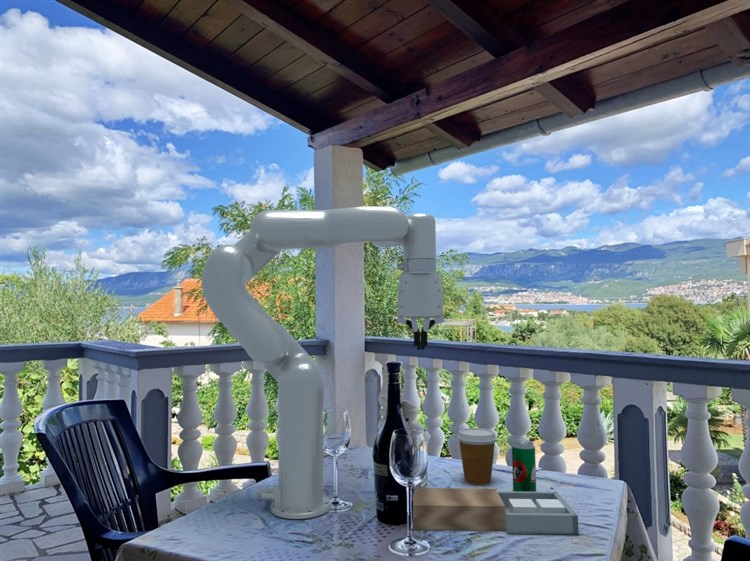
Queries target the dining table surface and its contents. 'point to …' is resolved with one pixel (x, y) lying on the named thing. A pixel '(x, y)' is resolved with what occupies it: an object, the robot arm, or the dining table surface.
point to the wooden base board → (458, 509)
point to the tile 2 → (549, 506)
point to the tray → (539, 516)
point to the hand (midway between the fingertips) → (420, 349)
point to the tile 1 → (522, 506)
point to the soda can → (524, 466)
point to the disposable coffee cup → (477, 454)
